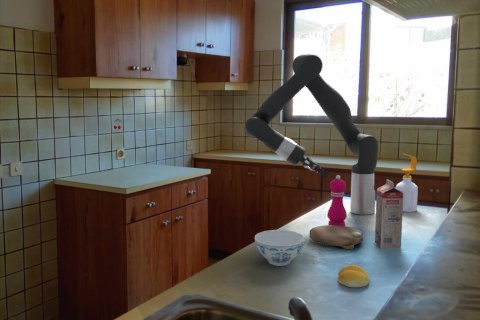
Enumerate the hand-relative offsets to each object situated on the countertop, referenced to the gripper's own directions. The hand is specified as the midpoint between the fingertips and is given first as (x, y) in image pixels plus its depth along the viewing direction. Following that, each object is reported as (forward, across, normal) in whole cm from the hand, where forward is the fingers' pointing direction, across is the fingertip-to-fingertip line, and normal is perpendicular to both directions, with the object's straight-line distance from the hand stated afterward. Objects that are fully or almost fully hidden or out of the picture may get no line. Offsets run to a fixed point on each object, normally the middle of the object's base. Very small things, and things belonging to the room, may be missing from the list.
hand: (325, 174), depth 172 cm
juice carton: (+27, -20, +9) cm, 35 cm away
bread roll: (+14, -49, +21) cm, 55 cm away
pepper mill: (+15, +1, +14) cm, 21 cm away
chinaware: (-3, -36, +30) cm, 47 cm away
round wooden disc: (+13, -16, +17) cm, 27 cm away
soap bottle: (+42, +27, -7) cm, 50 cm away
